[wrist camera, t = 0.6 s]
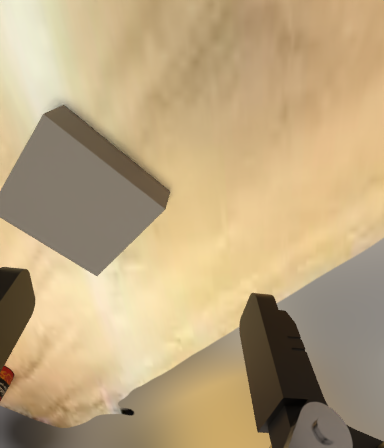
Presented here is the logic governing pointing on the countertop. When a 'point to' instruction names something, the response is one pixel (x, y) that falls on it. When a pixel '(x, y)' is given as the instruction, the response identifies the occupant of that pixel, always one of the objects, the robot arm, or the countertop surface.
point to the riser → (79, 192)
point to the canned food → (5, 380)
